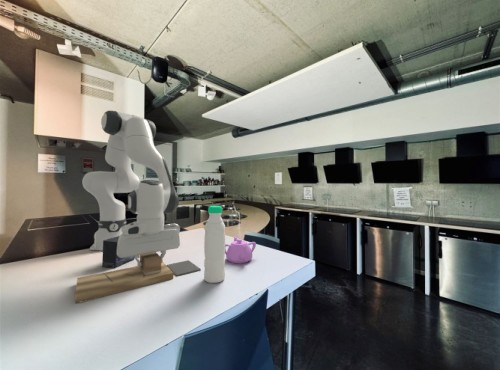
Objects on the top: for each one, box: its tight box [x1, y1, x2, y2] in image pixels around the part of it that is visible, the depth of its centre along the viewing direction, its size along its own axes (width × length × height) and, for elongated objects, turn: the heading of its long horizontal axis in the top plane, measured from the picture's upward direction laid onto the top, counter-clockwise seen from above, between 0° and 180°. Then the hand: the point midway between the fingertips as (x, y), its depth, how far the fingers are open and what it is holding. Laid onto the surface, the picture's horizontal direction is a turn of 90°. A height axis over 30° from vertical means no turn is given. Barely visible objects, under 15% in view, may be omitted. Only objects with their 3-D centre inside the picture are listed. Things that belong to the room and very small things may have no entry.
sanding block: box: [139, 252, 161, 276], centre depth 75 cm, size 9×5×5 cm, turn 38°
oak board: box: [74, 262, 175, 304], centre depth 70 cm, size 14×26×2 cm, turn 128°
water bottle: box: [203, 205, 226, 284], centre depth 72 cm, size 7×7×25 cm
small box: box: [101, 236, 135, 269], centre depth 87 cm, size 11×6×10 cm, turn 168°
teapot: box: [225, 235, 257, 264], centre depth 92 cm, size 12×14×9 cm
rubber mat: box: [166, 260, 202, 277], centre depth 82 cm, size 12×9×1 cm
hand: (150, 264), depth 75 cm, fingers closed on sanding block, 5 cm apart
